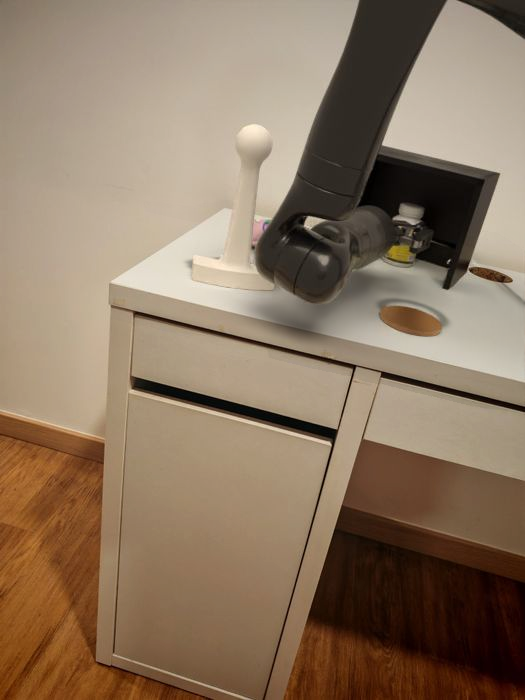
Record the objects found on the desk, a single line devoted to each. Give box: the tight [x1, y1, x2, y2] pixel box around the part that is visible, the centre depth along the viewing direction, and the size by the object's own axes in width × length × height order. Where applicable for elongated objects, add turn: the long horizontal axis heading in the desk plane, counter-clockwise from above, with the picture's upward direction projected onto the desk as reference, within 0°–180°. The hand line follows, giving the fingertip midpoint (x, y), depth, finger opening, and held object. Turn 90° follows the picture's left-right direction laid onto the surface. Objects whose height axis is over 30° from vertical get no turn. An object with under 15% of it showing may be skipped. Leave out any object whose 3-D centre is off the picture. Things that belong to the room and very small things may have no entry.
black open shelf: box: [357, 144, 501, 291], centre depth 97 cm, size 13×22×17 cm, turn 60°
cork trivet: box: [379, 305, 443, 337], centre depth 76 cm, size 8×8×1 cm
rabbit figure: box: [251, 218, 271, 248], centre depth 91 cm, size 6×6×15 cm
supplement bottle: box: [381, 203, 425, 268], centre depth 98 cm, size 5×5×10 cm
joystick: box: [190, 123, 276, 291], centre depth 75 cm, size 11×8×20 cm
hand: (395, 221), depth 90 cm, fingers open, 8 cm apart
